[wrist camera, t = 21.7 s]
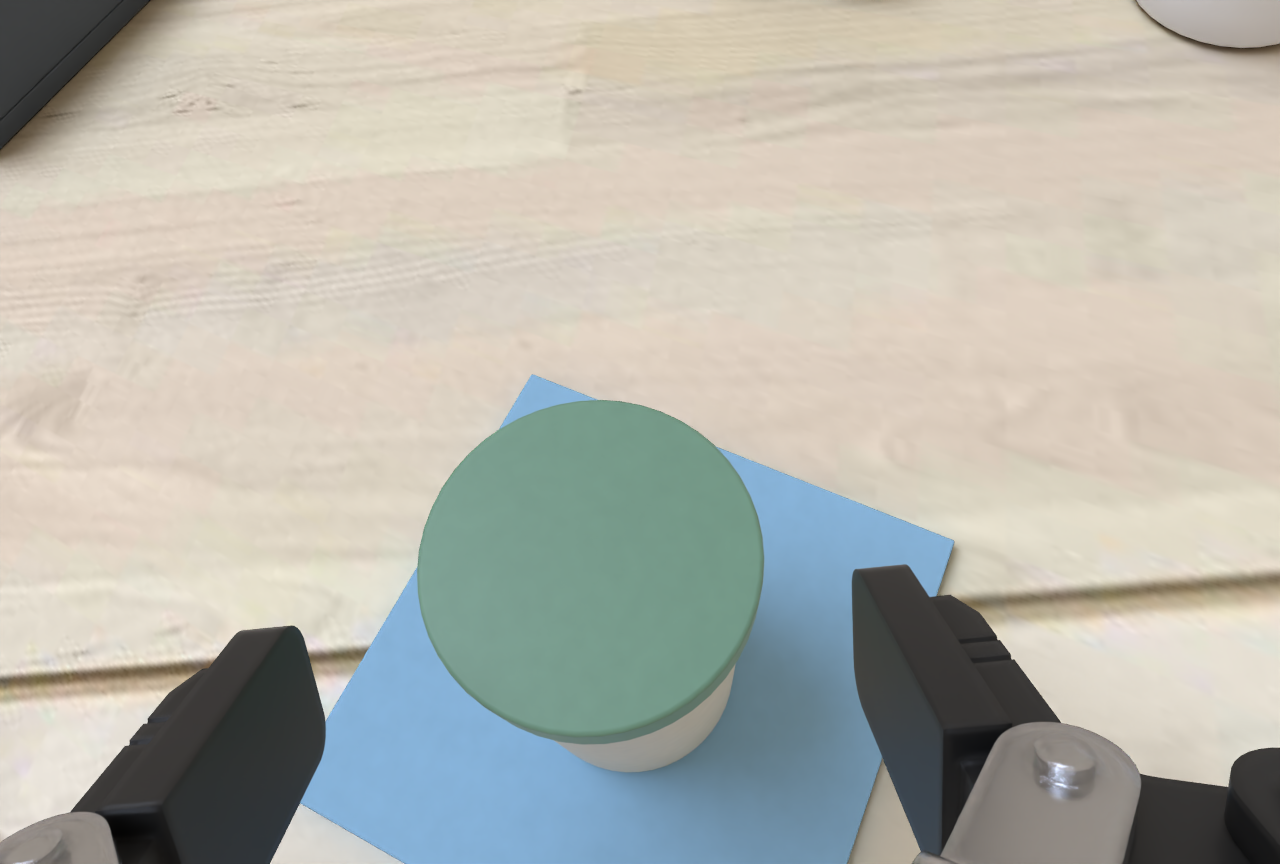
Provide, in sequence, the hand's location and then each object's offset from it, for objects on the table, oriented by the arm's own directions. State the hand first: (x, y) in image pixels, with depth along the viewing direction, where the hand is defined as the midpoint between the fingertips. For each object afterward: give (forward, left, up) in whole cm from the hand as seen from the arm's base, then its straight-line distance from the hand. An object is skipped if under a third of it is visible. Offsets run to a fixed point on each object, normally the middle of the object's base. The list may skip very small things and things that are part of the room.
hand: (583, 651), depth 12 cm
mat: (+2, +1, -12) cm, 12 cm away
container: (+2, +1, -12) cm, 12 cm away
